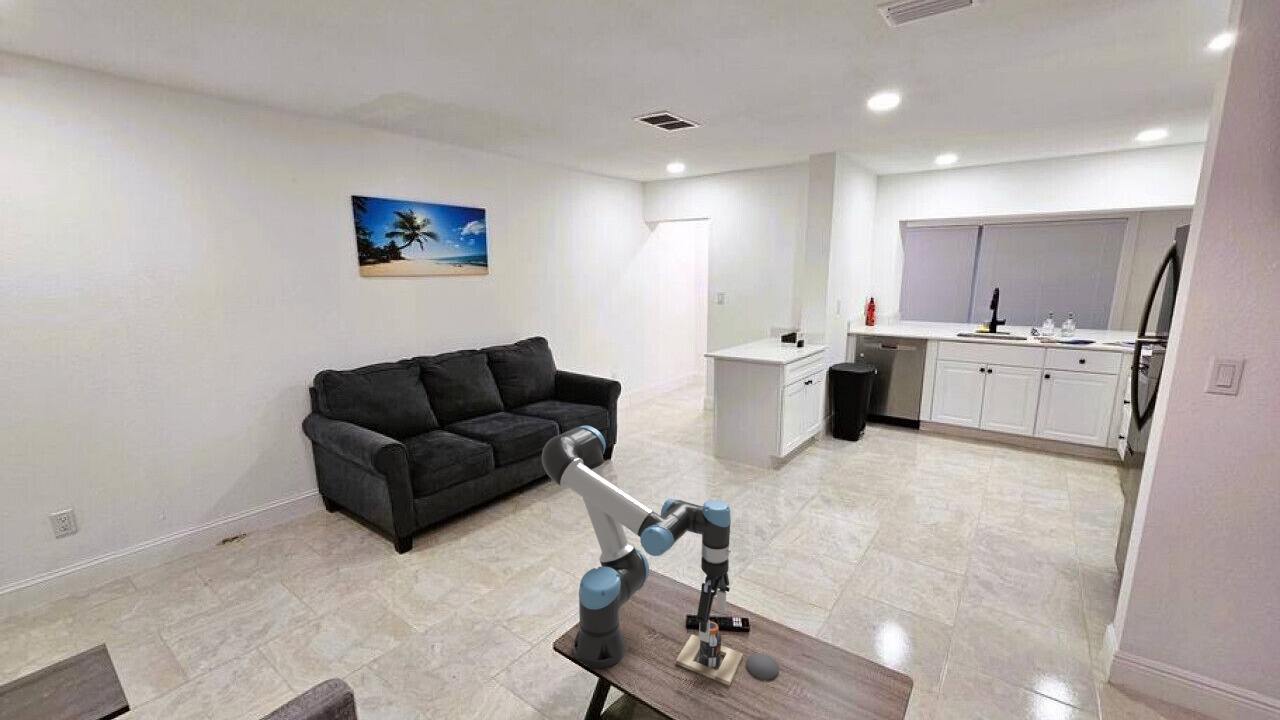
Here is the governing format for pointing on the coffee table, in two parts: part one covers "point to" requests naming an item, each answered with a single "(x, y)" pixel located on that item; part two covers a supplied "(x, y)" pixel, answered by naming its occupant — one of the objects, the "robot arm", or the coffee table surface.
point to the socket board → (721, 675)
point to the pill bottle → (711, 647)
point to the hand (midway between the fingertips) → (712, 625)
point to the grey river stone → (762, 666)
